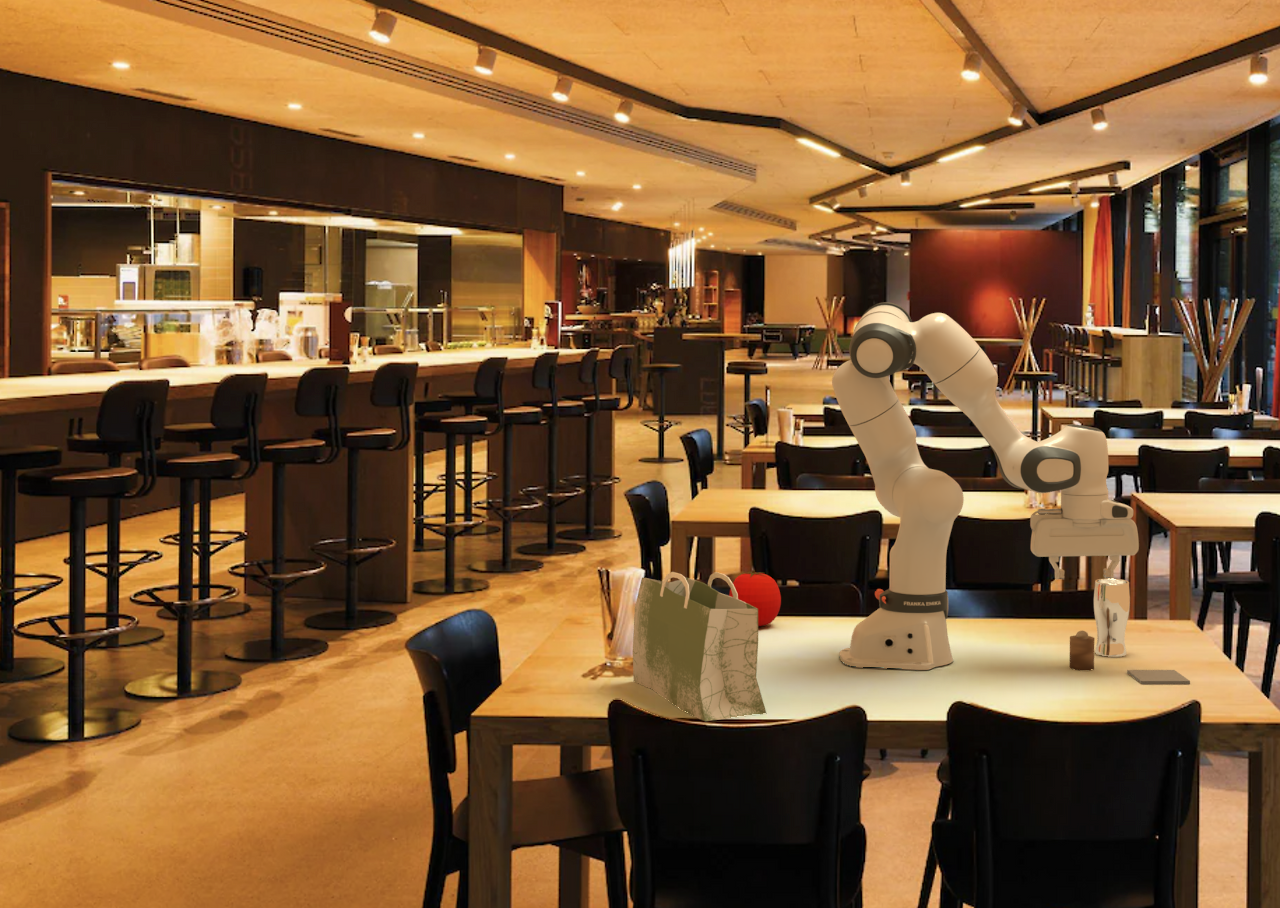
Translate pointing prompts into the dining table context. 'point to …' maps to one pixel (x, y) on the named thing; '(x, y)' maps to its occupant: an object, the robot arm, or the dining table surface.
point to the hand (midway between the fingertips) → (1084, 578)
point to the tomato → (759, 594)
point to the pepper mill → (1081, 651)
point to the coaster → (1158, 677)
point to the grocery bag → (697, 647)
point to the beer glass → (1111, 616)
